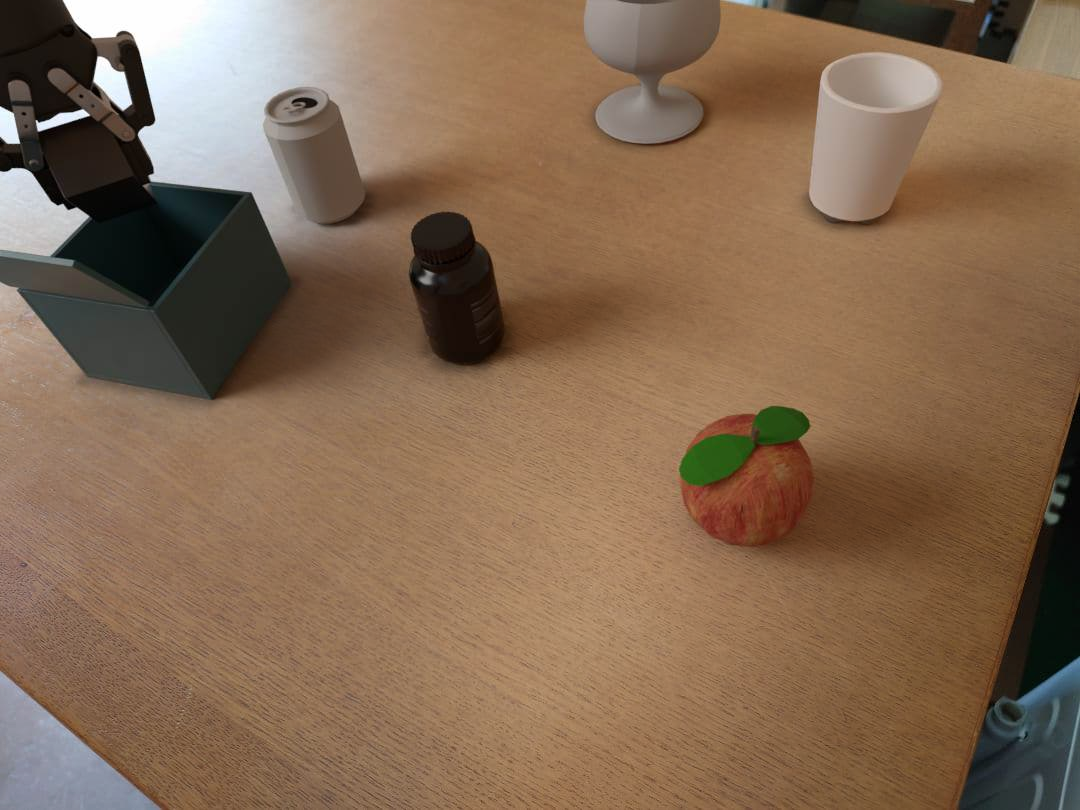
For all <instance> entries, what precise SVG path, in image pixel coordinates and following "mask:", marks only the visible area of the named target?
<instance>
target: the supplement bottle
mask: <svg viewBox="0 0 1080 810" xmlns="http://www.w3.org/2000/svg"><path fill="white" fill-rule="evenodd" d="M410 242H411V245H412V247H413V249H412V250H413V251H412V252H413V254H414V255H413V257H412V258H411V260H410V263H409V266H408V279H409V282H410V283H409V284H410V287H411V289H412V293H413V296H414V299H415V302H416V306H417V309H418V313H419V316H420V320H421V322H422V326H423V328H424V332H425V335H426V338H427V341H428V344H429V346H430V349H431V351H432V352H433V353H434V354H435V356H437V357H438V358H439V359H441V360H443V361H445V362H447V363H450V364H454V365H470V364H475V363H478V362H481V361H483V360H485V359H488V358H489V357H491V356H492V355H493V354H495V353H496V352H497V350H498V349H499V348H500V347H501V345H502V344H503V341H504V339H505V334H506V326H505V320H504V315H503V310H502V305H501V300H500V294H499V288H498V285H497V278H496V274H495V273H496V272H495V269H494V263H493V259H492V256H491V254H490V252H489V251H488V250H487V248H486V247H485V246H484V245H483V243H481V242H479V241H477V240H476V236H475V234H474V229H473V225H472V223H471V221H470V219H468V217H467V216H465V215H464V214H461V213H459V212H455V211H439V212H438V211H437V212H435V213H430V214H429V215H425V216H424V217H423V218H421V219H419V220H418V221H417V222H416V223H415V224H414V225H413V227H412V229H411V232H410Z"/></svg>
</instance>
